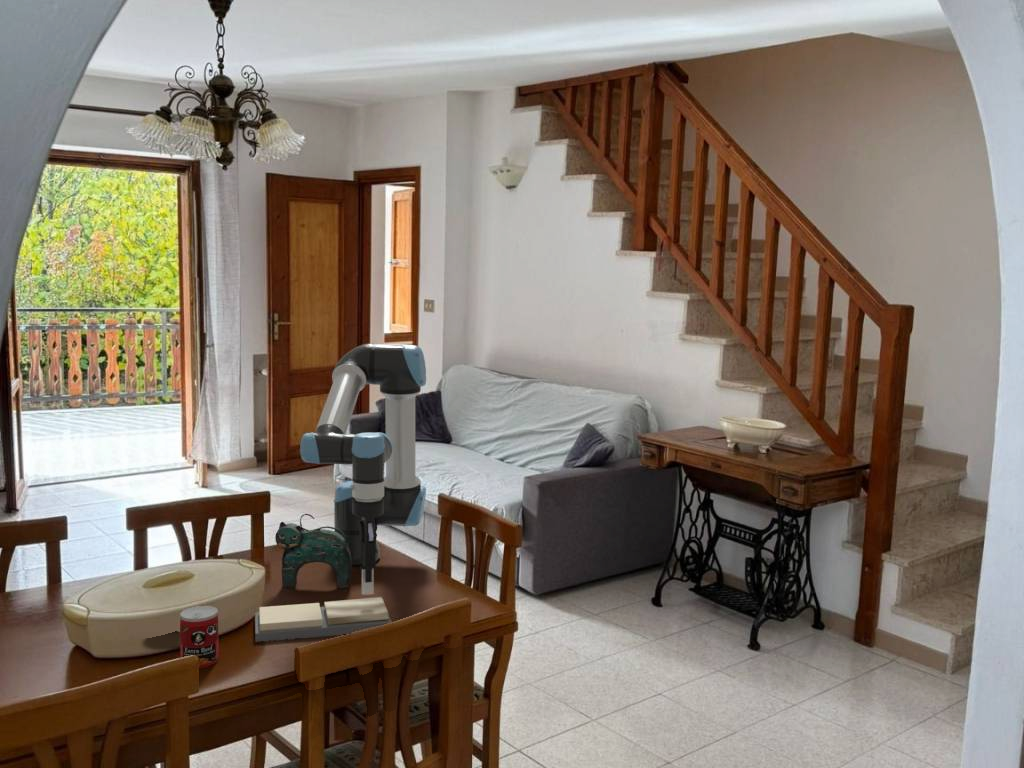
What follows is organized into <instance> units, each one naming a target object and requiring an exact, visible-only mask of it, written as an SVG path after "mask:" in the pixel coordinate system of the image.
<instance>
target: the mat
mask: <svg viewBox="0 0 1024 768" xmlns="http://www.w3.org/2000/svg"><path fill="white" fill-rule="evenodd" d="M258 609H259V611H256V612H257V613H255V612H254V615H255V616H254V621H255V623H254V627H255V629H254V630H255V634H254V635H255V639H254V640H255V643H261V642H260V641H264V642H272V641H273V640H276V641H285V639H288V640H296V639H295V638H300V639H308V638H309V639H310V638H311V639H312V638H322V637H332V636H333V637H334V636H344V635H343V634H347V633H352V632H355V631H359V630H363V629H367V628H371V627H376V626H381V625H384V624H387V623H390V622H392V623H393V621H392V618H391V616H390V614H389V613H388V619H384V620H374V621H363V622H353V623H343V624H332V625H328V622H327V617H326V613H325V608H324V606H320V602H313V603H312V602H311V603H300V604H299V603H298V604H286V605H270V606H260V607H258ZM269 640H271V641H269ZM257 641H259V642H257ZM273 642H274V641H273Z"/></svg>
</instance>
